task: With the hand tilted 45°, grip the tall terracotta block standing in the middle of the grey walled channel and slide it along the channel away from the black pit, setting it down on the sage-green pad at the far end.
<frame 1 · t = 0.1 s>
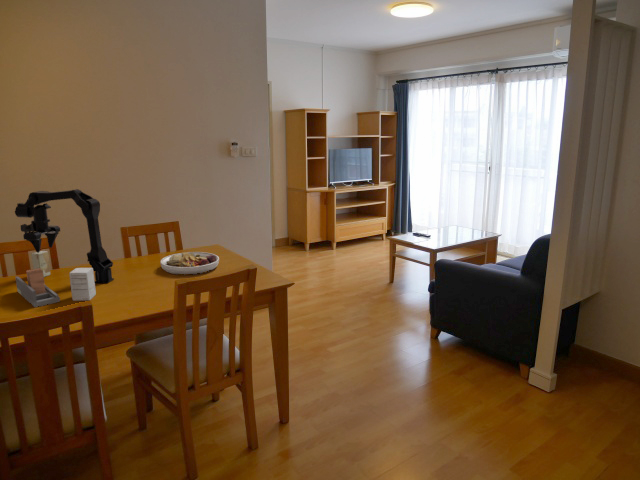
hand: (44, 249, 221), 15 cm above the table, tool pointing down, fingers open, 9 cm apart
channel deck: (36, 295, 202), on the table
skincare box: (42, 276, 229), on the table
terracotta block: (37, 292, 200), point 2 cm above the table, touching channel deck
supplement box: (84, 298, 201), on the table
bowl: (190, 268, 246), on the table
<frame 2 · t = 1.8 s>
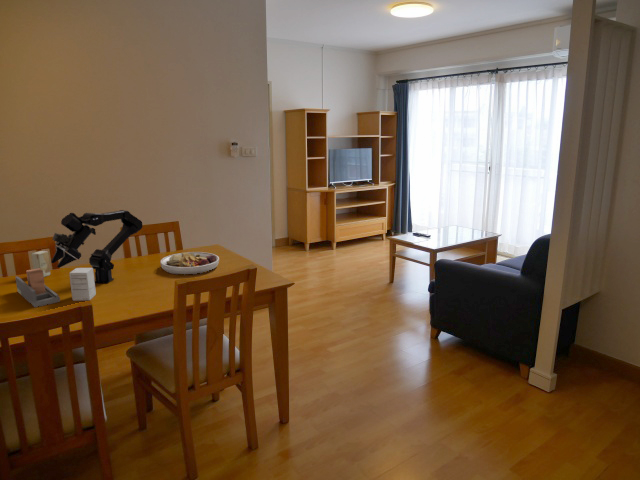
hand: (54, 264, 203), 13 cm above the table, tool tilted 45°, fingers open, 9 cm apart
nothing on the table moved.
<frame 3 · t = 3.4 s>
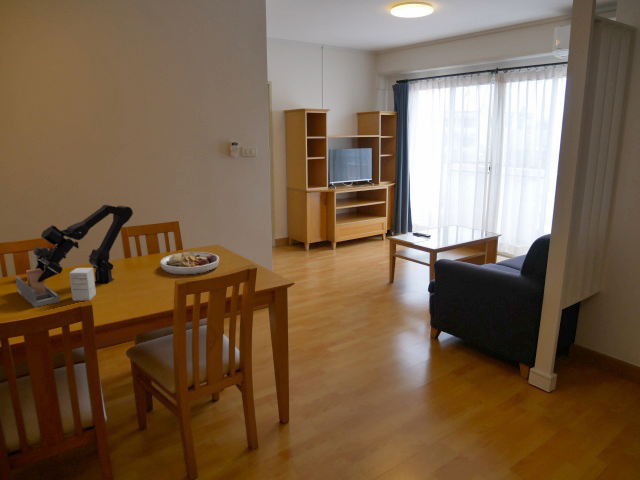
hand: (35, 279, 199), 8 cm above the table, tool tilted 45°, fingers open, 9 cm apart
nothing on the table moved.
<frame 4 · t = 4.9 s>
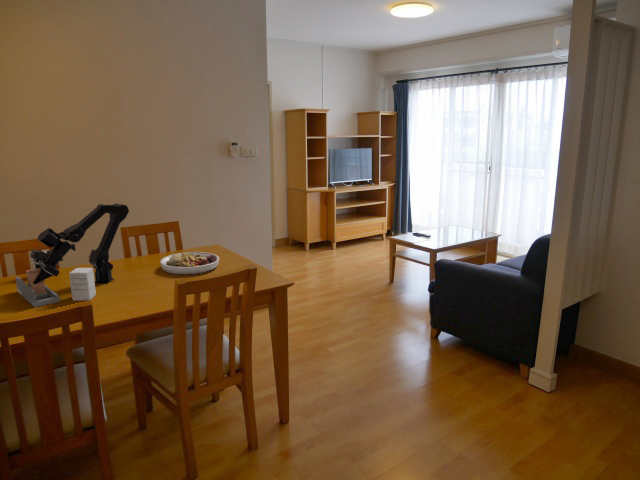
hand: (32, 282, 198), 7 cm above the table, tool tilted 45°, fingers closed on terracotta block, 5 cm apart
terracotta block: (37, 292, 200), point 2 cm above the table, touching channel deck, gripper
everything else where it was.
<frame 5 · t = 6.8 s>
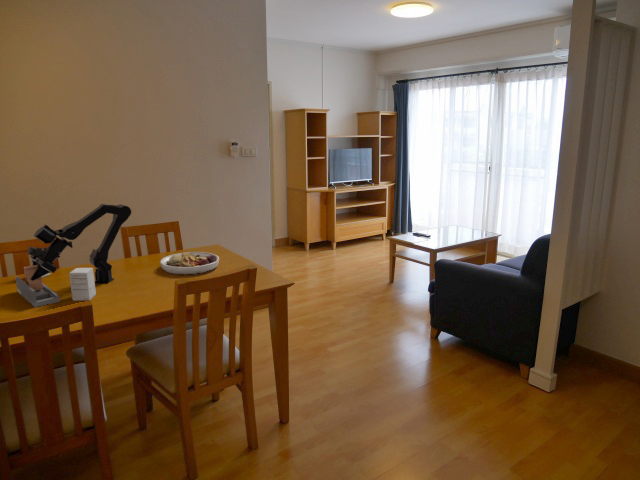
hand: (29, 278, 200), 8 cm above the table, tool tilted 45°, fingers closed on terracotta block, 5 cm apart
terracotta block: (35, 288, 203), point 3 cm above the table, touching gripper
everything else where it was.
when the fingers open (7 cm above the table, at t = 9.0 s): terracotta block stays where it is, resting on channel deck.
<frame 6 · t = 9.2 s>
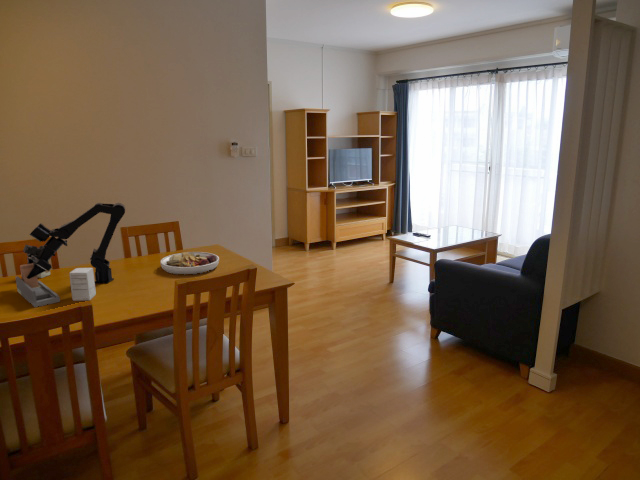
hand: (25, 276, 205), 7 cm above the table, tool tilted 45°, fingers open, 7 cm apart
terracotta block: (30, 286, 207), point 2 cm above the table, touching channel deck
everything else where it was.
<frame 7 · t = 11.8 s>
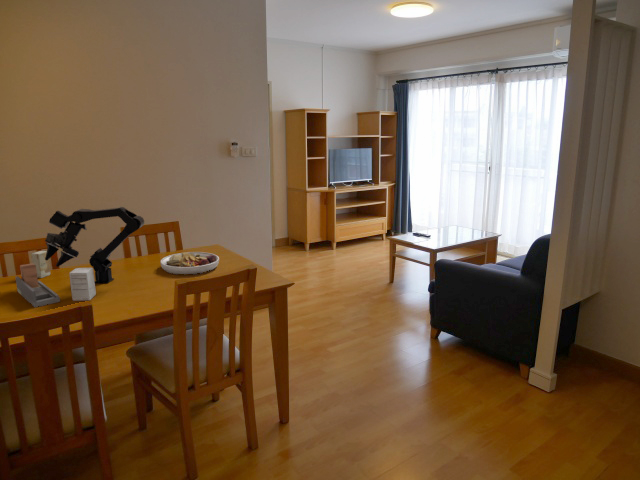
hand: (51, 263, 211), 11 cm above the table, tool tilted 35°, fingers open, 9 cm apart
nothing on the table moved.
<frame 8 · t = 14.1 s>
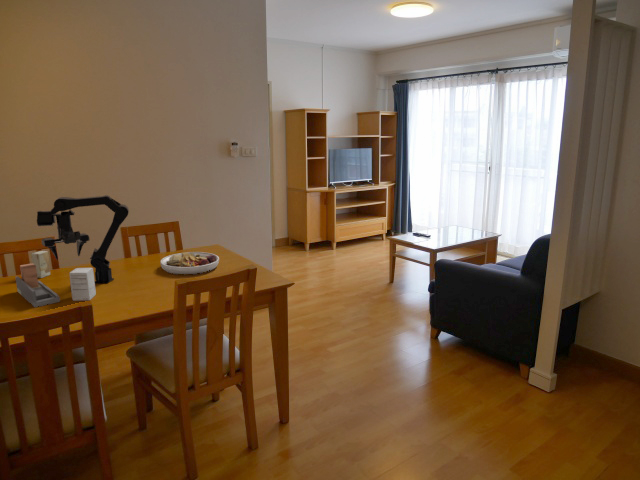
hand: (68, 257, 214), 13 cm above the table, tool pointing down, fingers open, 9 cm apart
nothing on the table moved.
at the end: terracotta block 0.0 cm from the target spot on the channel deck, point 2.0 cm above the channel deck's base; terracotta block tilted 0°; the gripper is holding nothing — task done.
